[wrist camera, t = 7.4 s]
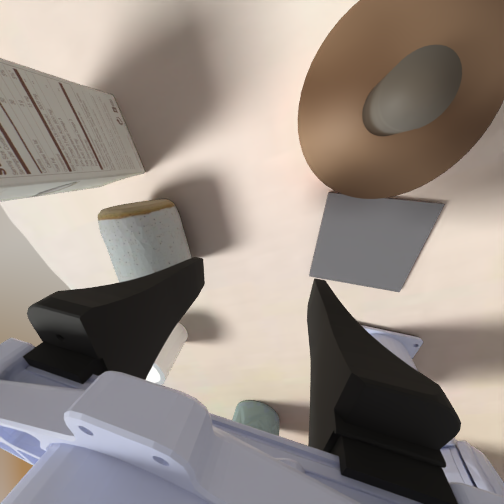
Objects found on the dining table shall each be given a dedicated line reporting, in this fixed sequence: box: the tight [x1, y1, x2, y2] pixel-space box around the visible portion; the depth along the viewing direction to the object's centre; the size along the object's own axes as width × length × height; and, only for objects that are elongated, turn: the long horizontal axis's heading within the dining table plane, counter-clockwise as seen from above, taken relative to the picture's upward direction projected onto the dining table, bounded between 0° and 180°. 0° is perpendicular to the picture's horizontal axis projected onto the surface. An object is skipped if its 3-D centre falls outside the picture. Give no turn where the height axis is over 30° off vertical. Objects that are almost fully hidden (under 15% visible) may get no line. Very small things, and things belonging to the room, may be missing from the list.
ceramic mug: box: [98, 199, 191, 282], centre depth 21 cm, size 11×8×8 cm
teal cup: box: [232, 400, 279, 436], centre depth 32 cm, size 10×10×12 cm
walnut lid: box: [298, 0, 504, 199], centre depth 10 cm, size 10×10×4 cm
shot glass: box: [146, 322, 188, 385], centre depth 29 cm, size 7×7×7 cm
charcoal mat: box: [309, 192, 445, 292], centre depth 19 cm, size 9×9×1 cm
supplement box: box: [0, 58, 145, 202], centre depth 15 cm, size 7×7×13 cm
